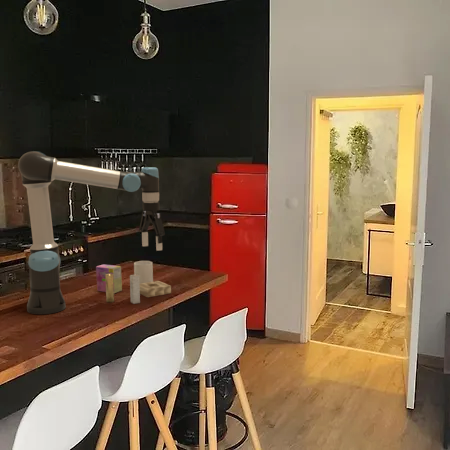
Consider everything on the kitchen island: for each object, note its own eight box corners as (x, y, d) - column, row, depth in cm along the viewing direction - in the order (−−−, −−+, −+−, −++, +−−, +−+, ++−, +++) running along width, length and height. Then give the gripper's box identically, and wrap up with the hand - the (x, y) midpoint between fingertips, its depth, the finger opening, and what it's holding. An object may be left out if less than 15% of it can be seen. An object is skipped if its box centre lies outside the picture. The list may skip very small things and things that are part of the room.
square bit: (133, 303, 227) (132, 276, 226) (130, 302, 230) (129, 275, 228) (140, 302, 229) (139, 275, 227) (136, 301, 231) (136, 274, 230)
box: (96, 291, 249) (95, 266, 247) (104, 288, 254) (103, 263, 252) (114, 293, 244) (113, 268, 242) (122, 290, 249) (121, 266, 247)
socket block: (147, 297, 237) (147, 289, 237) (135, 291, 247) (135, 284, 246) (171, 293, 244) (170, 285, 244) (158, 287, 254) (158, 280, 253)
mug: (149, 287, 254) (148, 265, 252) (131, 287, 256) (131, 264, 254) (157, 281, 265) (157, 260, 264) (140, 281, 267) (140, 259, 266)
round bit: (108, 302, 229) (107, 275, 227) (105, 301, 231) (104, 274, 230) (115, 301, 231) (114, 274, 229) (112, 300, 233) (111, 273, 232)
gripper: (172, 203, 232) (173, 251, 235) (145, 199, 252) (146, 243, 255) (156, 204, 227) (158, 253, 230) (131, 200, 248) (132, 245, 250)
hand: (152, 248), depth 243 cm, fingers open, 13 cm apart
